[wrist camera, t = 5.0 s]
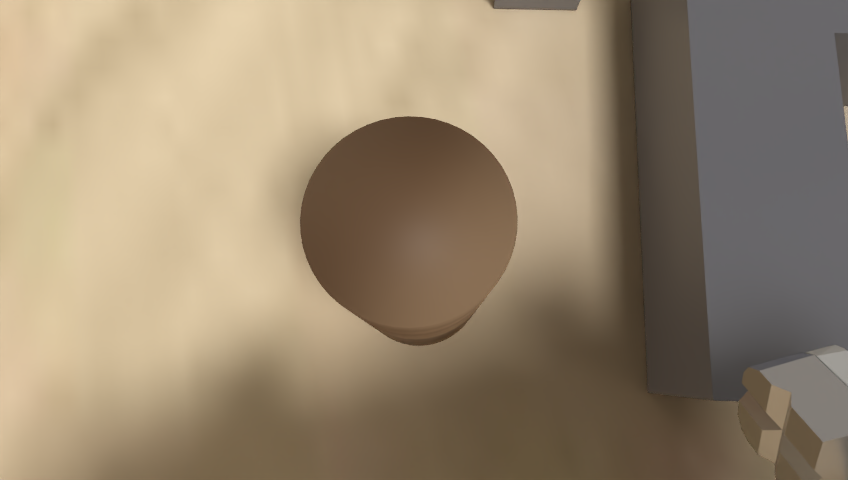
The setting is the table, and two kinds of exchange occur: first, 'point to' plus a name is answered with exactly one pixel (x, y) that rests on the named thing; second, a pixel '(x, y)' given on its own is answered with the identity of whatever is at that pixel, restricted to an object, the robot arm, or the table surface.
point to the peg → (409, 226)
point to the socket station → (738, 184)
